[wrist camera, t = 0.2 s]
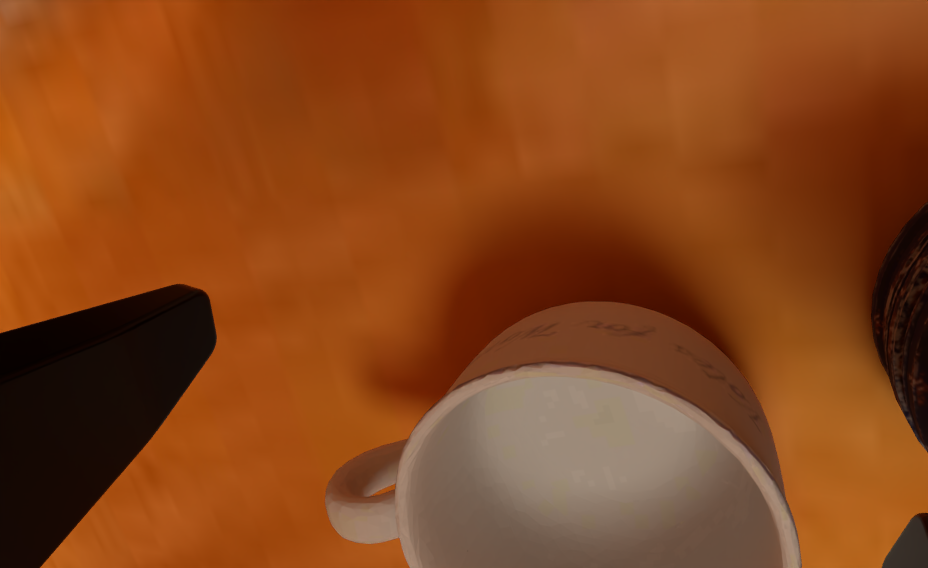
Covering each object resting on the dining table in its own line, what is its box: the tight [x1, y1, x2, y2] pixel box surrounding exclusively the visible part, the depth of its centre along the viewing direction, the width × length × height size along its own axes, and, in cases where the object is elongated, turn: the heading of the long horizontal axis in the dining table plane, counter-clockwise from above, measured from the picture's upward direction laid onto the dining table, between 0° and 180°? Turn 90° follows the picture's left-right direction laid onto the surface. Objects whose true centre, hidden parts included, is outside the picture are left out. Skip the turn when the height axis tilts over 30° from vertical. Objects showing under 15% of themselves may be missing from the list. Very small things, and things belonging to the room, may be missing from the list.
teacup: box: [325, 301, 802, 568], centre depth 22 cm, size 14×11×8 cm
